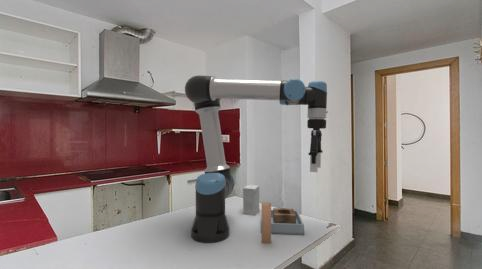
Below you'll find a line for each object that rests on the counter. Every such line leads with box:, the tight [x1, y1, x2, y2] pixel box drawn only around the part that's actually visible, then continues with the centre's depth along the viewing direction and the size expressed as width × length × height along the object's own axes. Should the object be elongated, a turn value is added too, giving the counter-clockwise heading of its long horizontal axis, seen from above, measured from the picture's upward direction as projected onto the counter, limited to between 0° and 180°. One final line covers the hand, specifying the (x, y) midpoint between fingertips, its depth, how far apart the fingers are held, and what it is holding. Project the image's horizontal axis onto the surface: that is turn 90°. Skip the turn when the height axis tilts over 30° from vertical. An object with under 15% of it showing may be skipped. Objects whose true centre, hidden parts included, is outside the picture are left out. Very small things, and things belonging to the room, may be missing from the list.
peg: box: [261, 201, 272, 244], centre depth 89 cm, size 4×4×14 cm
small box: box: [242, 184, 260, 216], centre depth 121 cm, size 8×6×13 cm
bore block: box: [272, 207, 296, 224], centre depth 104 cm, size 9×9×5 cm
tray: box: [260, 209, 305, 236], centre depth 104 cm, size 17×17×4 cm
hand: (315, 169), depth 100 cm, fingers open, 13 cm apart
